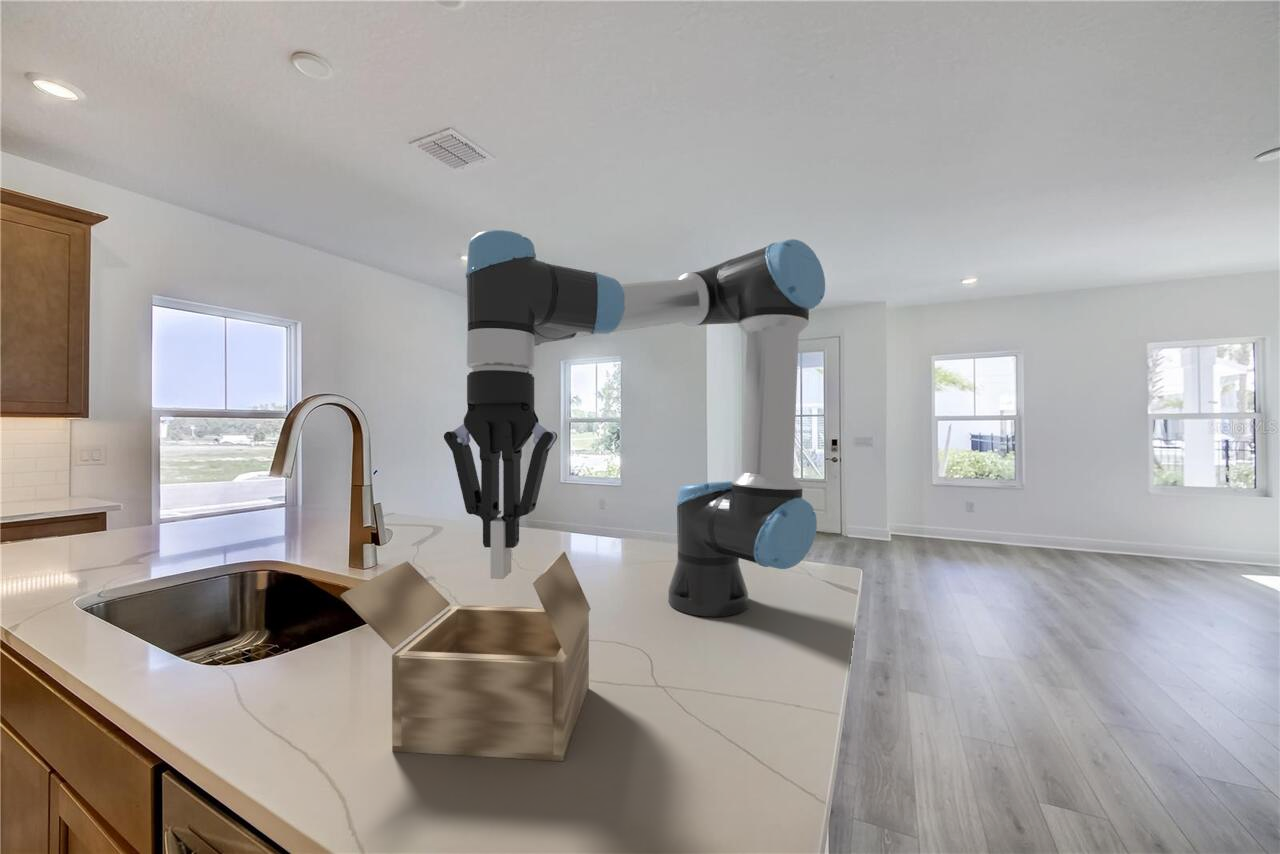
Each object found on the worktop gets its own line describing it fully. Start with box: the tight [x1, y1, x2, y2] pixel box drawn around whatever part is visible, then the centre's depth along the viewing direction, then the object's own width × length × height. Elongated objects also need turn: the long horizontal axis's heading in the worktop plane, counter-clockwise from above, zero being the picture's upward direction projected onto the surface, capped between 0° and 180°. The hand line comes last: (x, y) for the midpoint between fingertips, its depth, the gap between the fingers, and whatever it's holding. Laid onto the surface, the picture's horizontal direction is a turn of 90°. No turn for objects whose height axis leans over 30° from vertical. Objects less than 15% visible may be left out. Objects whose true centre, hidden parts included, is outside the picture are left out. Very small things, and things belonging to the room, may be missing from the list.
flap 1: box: [340, 560, 451, 650], centre depth 59 cm, size 8×13×1 cm
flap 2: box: [532, 550, 591, 655], centre depth 57 cm, size 8×13×1 cm
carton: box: [391, 604, 590, 762], centre depth 58 cm, size 18×15×10 cm
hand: (501, 575), depth 58 cm, fingers closed
